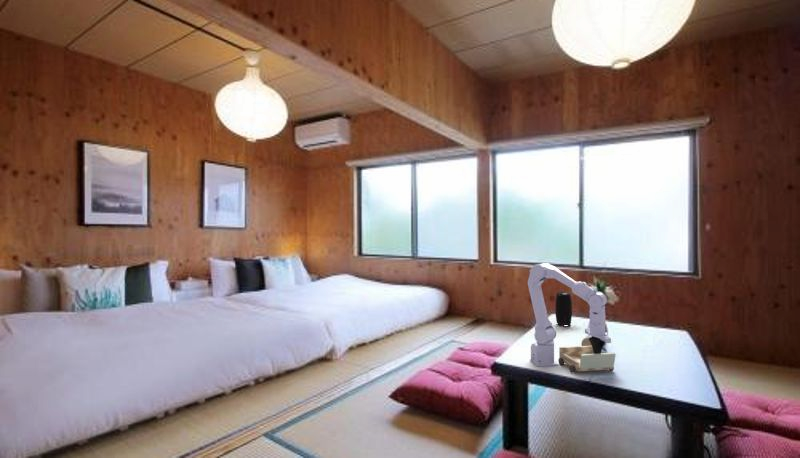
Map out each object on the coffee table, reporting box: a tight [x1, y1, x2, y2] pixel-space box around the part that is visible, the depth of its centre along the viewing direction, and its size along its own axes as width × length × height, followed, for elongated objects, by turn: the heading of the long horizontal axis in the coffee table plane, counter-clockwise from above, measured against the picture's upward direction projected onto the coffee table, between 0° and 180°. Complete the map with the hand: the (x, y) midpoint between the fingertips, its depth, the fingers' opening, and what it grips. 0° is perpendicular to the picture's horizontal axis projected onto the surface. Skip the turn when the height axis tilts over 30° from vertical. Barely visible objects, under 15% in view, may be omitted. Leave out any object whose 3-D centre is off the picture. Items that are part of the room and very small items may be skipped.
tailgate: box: [579, 352, 617, 369], centre depth 165 cm, size 14×1×6 cm, turn 97°
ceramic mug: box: [580, 334, 608, 353], centre depth 194 cm, size 11×8×8 cm
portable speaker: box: [554, 291, 573, 326], centre depth 244 cm, size 9×9×20 cm
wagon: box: [557, 345, 615, 374], centre depth 173 cm, size 18×14×7 cm
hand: (597, 355), depth 165 cm, fingers closed, pressing on tailgate
